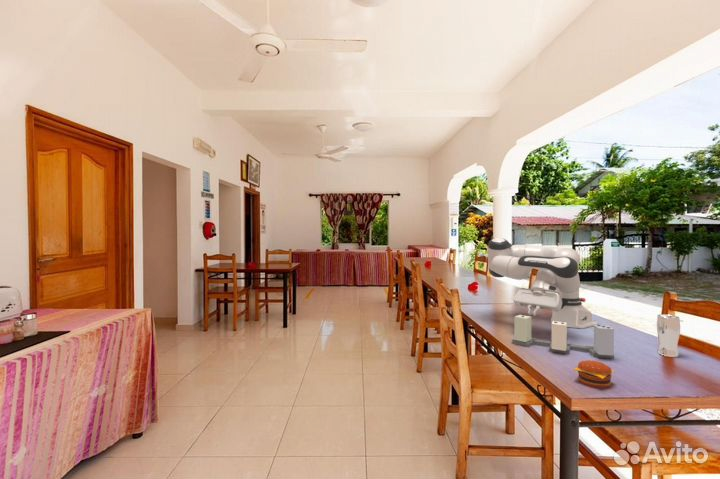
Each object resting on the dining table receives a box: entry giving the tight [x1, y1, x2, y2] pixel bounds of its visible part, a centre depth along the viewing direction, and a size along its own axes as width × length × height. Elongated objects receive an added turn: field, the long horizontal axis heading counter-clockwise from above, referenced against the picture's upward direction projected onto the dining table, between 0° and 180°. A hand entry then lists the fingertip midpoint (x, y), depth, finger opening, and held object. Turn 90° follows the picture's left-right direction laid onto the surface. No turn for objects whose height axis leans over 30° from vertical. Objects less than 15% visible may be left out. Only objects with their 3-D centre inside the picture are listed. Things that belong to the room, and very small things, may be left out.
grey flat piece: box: [511, 337, 615, 359], centre depth 150 cm, size 12×36×2 cm, turn 57°
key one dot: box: [513, 314, 532, 342], centre depth 156 cm, size 5×5×10 cm
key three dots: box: [593, 324, 615, 357], centre depth 139 cm, size 5×5×10 cm
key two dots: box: [551, 321, 568, 351], centre depth 145 cm, size 5×5×10 cm
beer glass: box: [656, 313, 681, 358], centre depth 141 cm, size 7×7×15 cm
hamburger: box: [573, 359, 616, 389], centre depth 117 cm, size 9×10×7 cm
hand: (531, 314), depth 162 cm, fingers closed
